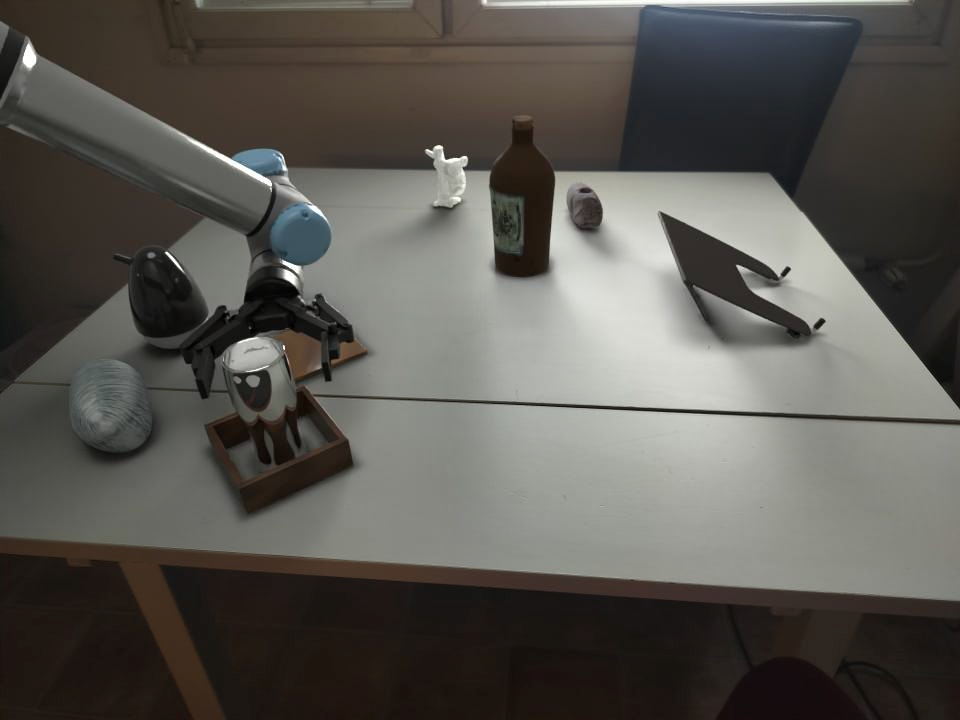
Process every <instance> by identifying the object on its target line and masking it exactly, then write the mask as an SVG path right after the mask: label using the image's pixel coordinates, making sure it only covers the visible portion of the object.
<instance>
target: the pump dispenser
mask: <svg viewBox="0 0 960 720" xmlns="http://www.w3.org/2000/svg"><path fill="white" fill-rule="evenodd" d="M112 259H113V260H115V261H116V262H119V263H122V264H124V265H127V266H129V270H128V280H127V288H128V289H127V291H128V292H127V293H128V303H129V308H130V314H131V317H132V321H133V324H134V327H135V330H136V331H137V332H138V334H140V335H142V337H143V338H144V339H145V340H146V341H147V342H148V343H149V344H150V345H152V346H155V347H157V348H160V349H165V350H177V349H180V347H179V345H180V344H181V343H182V342H183V341H185V340H186V339H187V338H188V337H189V336H190V335H191V334H192V333H193V332H195V331H196V330H197V329H198V328H199V327H200V326H201V325H202V324H204V323H205V322H206V321H207V320H208V319H209V318H208V317H209V314H210V309H209V306H208V303H207V301H206V299H205V297H204V294H203V292H202V291H201V288H200V287H199V285H198V283H197V281H196V280H195V279H194V276H192V274H191V272H190V271H189V270H188V269H187V268H186V266H185V265H184V264H183V262H182V261H180V259H179V258H178V257H177V256H176V255H175V254H174V253H173V252H171V251H170V250H169V249H167V248H166V247H164V246H161V245H155V244H149V245H145V246H142V247H141V248H138V250H136V252H134V255H128V254H125V253H121V252H117V251H115V252H114V253H113V254H112Z"/></svg>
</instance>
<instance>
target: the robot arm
mask: <svg viewBox="0 0 960 720" xmlns="http://www.w3.org/2000/svg"><path fill="white" fill-rule="evenodd" d="M2 127H6V128H8V129H10V130H13V131H16V132H17V133H19V134H22V135H23V136H26V137H28V138H30V139H32V140H35V141H37V142H39V143H41V144H43V145H45V146H48V147H50V148H52V149H54V150H57V151H59V152H60V153H63V154H65V155H67V156H70V157H72V158H74V159H75V160H79V161H81V162H83V163H85V164H87V165H90V166H92V167H93V168H96V169H98V170H100V171H103V172H104V173H107V174H109V175H111V176H114V177H116V178H118V179H120V180H123V181H124V182H127V183H128V184H130V185H133V186H135V187H138V188H140V189H142V190H144V191H146V192H149V193H150V194H153V195H155V196H157V197H160V198H161V199H164V200H166V201H168V202H171V203H173V204H174V205H177V206H179V207H181V208H184V209H186V210H188V211H190V212H192V213H194V214H196V215H199V216H201V217H203V218H205V219H207V220H210V221H212V222H215V223H217V224H218V225H221V226H223V227H225V228H227V229H229V230H231V231H233V232H236V233H238V234H241V235H242V236H244V237H246V238H245V239H246V243H247V246H248V250H249V255H250V263H249V271H248V274H247V279H246V286H245V291H244V296H243V304H241V306H240V307H239V308H238V309H229V310H228V307H227V305H225V304H221V305H218V306H217V307H216V309H215V310H214V312H213V315H211V316H210V317H209V318H208V320H207V321H206V322H205V323H204V324H202V325H201V326H200V327H199V328H198V329H197V330H196V331H195V332H193V333H192V334H191V335H190V336H189V337H188V338H187V339H186V340H185V341H183V342H182V343H181V344H180V345H179V347H180V348H179V350H180V354H181V356H182V358H183V361H184V364H185V365H190V367H191V371H192V373H193V376H194V381H195V384H196V387H197V390H198V394H199V396H200V398H201V400H209V399H210V395H211V389H212V386H213V382H214V381H213V380H214V376H215V371H216V367H217V364H216V360H217V359H219V357H221V355H222V354H223V352H224V351H225V350H226V349H227V348H228V347H229V346H231V345H232V344H234V343H236V342H238V341H241V340H244V339H247V338H252V337H257V335H259V334H265V333H269V332H278V331H279V332H281V331H286V329H288V330H289V331H290V330H292V331H294V332H296V333H300V332H302V333H304V334H306V335H308V336H310V337H312V338H314V339H316V340H318V341H320V342H321V364H322V369H323V371H322V373H323V374H322V375H323V378H324V383H329V382H333V374H332V371H333V370H332V368H333V367H331V360H335V359H339V358H340V344H341V343H342V342H346V343H352V342H354V341H355V339H356V338H355V334H354V328H353V323H352V322H351V321H350V320H349V319H348V318H347V317H346V316H344V315H343V314H342V313H341V312H339V310H338V309H336V308H335V307H334V306H332V304H330V303H329V302H328V301H327V300H326V297H325V294H324V293H321V292H320V293H316V294H315V295H314V299H312V300H306V301H305V300H304V287H305V286H304V282H305V281H304V280H305V274H304V273H305V266H309V265H313V264H315V263H317V262H318V261H319V260H321V259H322V258H323V257H324V256H325V255H326V253H327V252H328V251H329V248H330V246H331V243H332V238H333V234H332V227H331V225H330V222H329V220H328V219H327V218H326V217H325V215H324V213H323V212H322V211H321V209H320V208H319V207H318V206H316V205H314V204H313V203H312V202H311V201H310V200H309V199H308V198H306V196H305V195H303V194H302V192H301V191H300V190H299V189H297V187H295V185H293V184H292V182H290V178H289V169H288V168H287V165H286V161H285V158H284V156H283V154H282V153H281V151H278V150H275V149H271V148H255V149H249V150H244V151H241V152H239V153H236V154H235V155H233V156H232V157H231V158H230V157H229V156H227V155H225V154H223V153H221V152H219V151H217V150H216V149H213V148H212V147H210V146H208V145H206V144H205V143H203V142H201V141H199V140H197V139H195V138H193V137H191V136H189V135H188V134H186V133H184V132H183V131H180V130H178V129H176V128H175V127H173V126H171V125H170V124H167V123H165V122H163V121H162V120H160V119H158V118H156V117H154V116H152V115H151V114H149V113H147V112H145V111H143V110H141V109H139V108H138V107H136V106H135V105H132V104H130V103H129V102H126V101H125V100H123V99H121V98H119V97H117V96H115V95H113V94H112V93H110V92H108V91H106V90H104V89H102V88H101V87H98V86H97V85H95V84H93V83H91V82H89V81H87V80H86V79H84V78H82V77H80V76H78V75H76V74H74V73H73V72H71V71H69V70H67V69H65V68H63V66H59V65H58V64H56V63H54V62H52V61H51V60H49V59H46V57H43V56H42V55H39V54H38V52H37V51H36V49H35V47H34V44H33V43H32V41H31V39H30V37H28V35H25V34H23V33H21V32H20V31H19V30H16V29H15V28H12V27H11V26H9V25H8V24H6V23H4V22H2V21H1V20H0V128H2ZM308 312H311V313H312V314H314V315H312V314H310V313H308ZM354 338H355V339H354Z"/></svg>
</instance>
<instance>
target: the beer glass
mask: <svg viewBox="0 0 960 720" xmlns="http://www.w3.org/2000/svg"><path fill="white" fill-rule="evenodd" d="M272 337H273V336H263V335H262V336H255V337H252V338H247V339H244V340H241V341H238V342H236V343H234V344H232V345H231V346H229V347H228V348H227V349H226V350H225V351H224V352H223V354H222V355H221V356H220V364H221V369H222V374H223V378H224V383H225V387H226V390H227V395H228V397H229V400H230V402H231V405H232V407H233V409H234V411H235V412H236V413H237V415H238V417H239V418H240V420H241V422H242V424H243V425H244V427H245V429H246V430H247V432H248V434H249V436H250V441H251V442H252V446H253V447H252V448H253V460H254V465H255V467H256V469H257V470H258V471H259V472H260V473H263V472H265V471H268V470H270V469H272V468H274V467H277V466H279V465H281V464H283V463H285V462H288V461H290V460H292V459H294V458H297V457H299V456H301V455H303V454H306V453H308V452H309V451H308V447H307V444H306V442H305V440H304V438H303V436H302V435H301V432H300V430H299V423H298V419H297V395H296V388H297V386H296V382H295V381H294V376H293V373H292V369H291V366H290V363H289V360H288V357H287V355H286V352H285V348H284V345H283V344H282V342H281V341H279V340H277V339H275V338H272Z"/></svg>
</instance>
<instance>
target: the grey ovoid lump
mask: <svg viewBox="0 0 960 720" xmlns="http://www.w3.org/2000/svg"><path fill="white" fill-rule="evenodd" d="M68 391H69V392H68V414H69V418H70V419H69V420H70V422H71V426H72V428H73V430H74V432H75V434H76V436H77V438H79V439H80V440H81V441H82V442H83V443H85V444H86V445H88V446H90V447H92V448H95V449H97V450H100V451H103V452H110V453H126V452H132V451H134V450H135V449H137V448H139V447H141V446H142V445H143V444H144V443H145V442H146V440H147V439H148V438H149V436H150V434H151V432H152V423H153V409H152V401H151V397H150V393H149V389H148V386H147V384H146V382H145V380H144V379H143V377H142V375H141V374H140V373H139V372H138V370H137V369H135V368H134V367H133V366H131V365H129V364H127V363H126V362H122V361H120V360H118V359H117V360H116V359H109V358H99V359H93V360H90V361H88V362H86V363H85V364H84V365H82V366H81V367H80V368H78V370H76V372H75V373H74V375H73V376H72V379H71V383H70V387H69V390H68Z"/></svg>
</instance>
